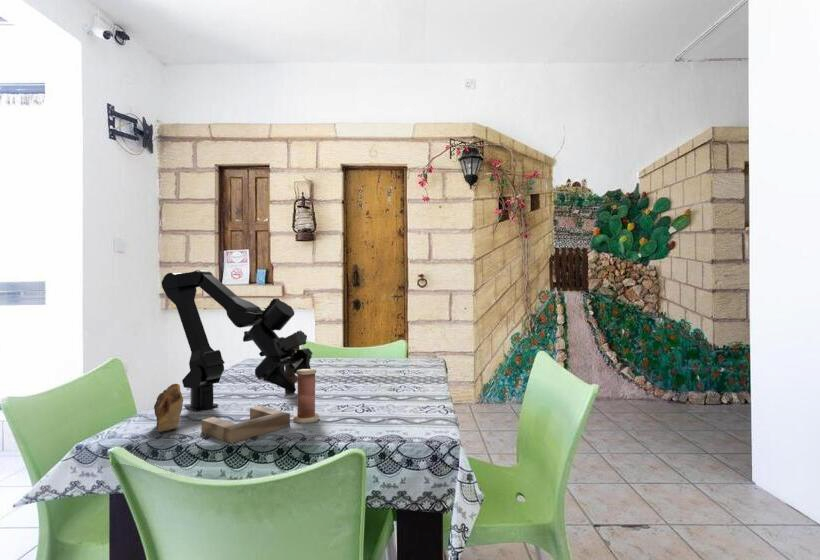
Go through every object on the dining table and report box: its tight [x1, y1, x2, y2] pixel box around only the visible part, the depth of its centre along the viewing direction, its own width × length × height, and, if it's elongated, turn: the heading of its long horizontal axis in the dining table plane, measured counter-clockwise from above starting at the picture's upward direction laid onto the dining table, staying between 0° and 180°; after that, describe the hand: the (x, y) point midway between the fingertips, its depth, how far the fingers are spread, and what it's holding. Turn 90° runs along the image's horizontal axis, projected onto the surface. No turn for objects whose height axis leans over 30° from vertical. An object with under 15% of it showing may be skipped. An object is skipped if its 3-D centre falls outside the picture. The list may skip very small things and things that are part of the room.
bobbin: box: [292, 368, 320, 424], centre depth 122 cm, size 6×6×12 cm
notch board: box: [201, 405, 291, 444], centre depth 114 cm, size 12×16×3 cm
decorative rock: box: [153, 383, 184, 433], centre depth 114 cm, size 12×6×11 cm, turn 30°
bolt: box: [284, 346, 301, 395], centre depth 150 cm, size 6×5×15 cm
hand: (304, 387), depth 122 cm, fingers open, 9 cm apart
